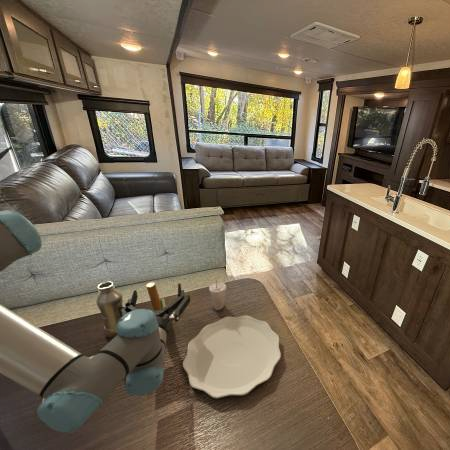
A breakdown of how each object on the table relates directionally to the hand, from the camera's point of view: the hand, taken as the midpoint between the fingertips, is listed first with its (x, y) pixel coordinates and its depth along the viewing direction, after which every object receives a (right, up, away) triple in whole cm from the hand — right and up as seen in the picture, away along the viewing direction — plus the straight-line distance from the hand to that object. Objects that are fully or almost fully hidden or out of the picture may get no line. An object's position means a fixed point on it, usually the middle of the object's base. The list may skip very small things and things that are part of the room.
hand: (158, 289), depth 87 cm
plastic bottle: (-11, -14, -4) cm, 18 cm away
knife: (0, -12, +2) cm, 13 cm away
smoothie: (+17, -10, +12) cm, 23 cm away
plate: (+29, -19, -7) cm, 35 cm away
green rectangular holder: (0, -12, +2) cm, 13 cm away
